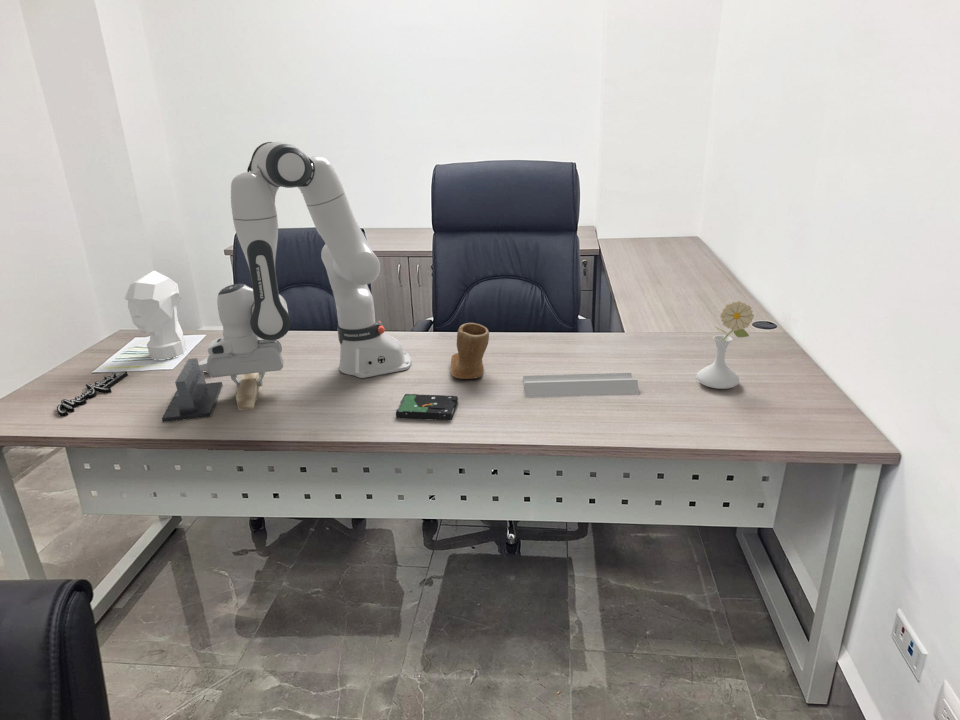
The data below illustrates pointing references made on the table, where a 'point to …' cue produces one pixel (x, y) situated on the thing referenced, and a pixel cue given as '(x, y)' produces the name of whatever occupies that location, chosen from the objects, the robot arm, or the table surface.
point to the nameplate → (90, 393)
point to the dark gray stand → (192, 395)
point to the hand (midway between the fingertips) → (250, 386)
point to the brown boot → (469, 351)
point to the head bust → (157, 314)
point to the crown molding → (580, 385)
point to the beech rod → (247, 391)
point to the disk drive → (427, 407)
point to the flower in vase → (719, 372)
